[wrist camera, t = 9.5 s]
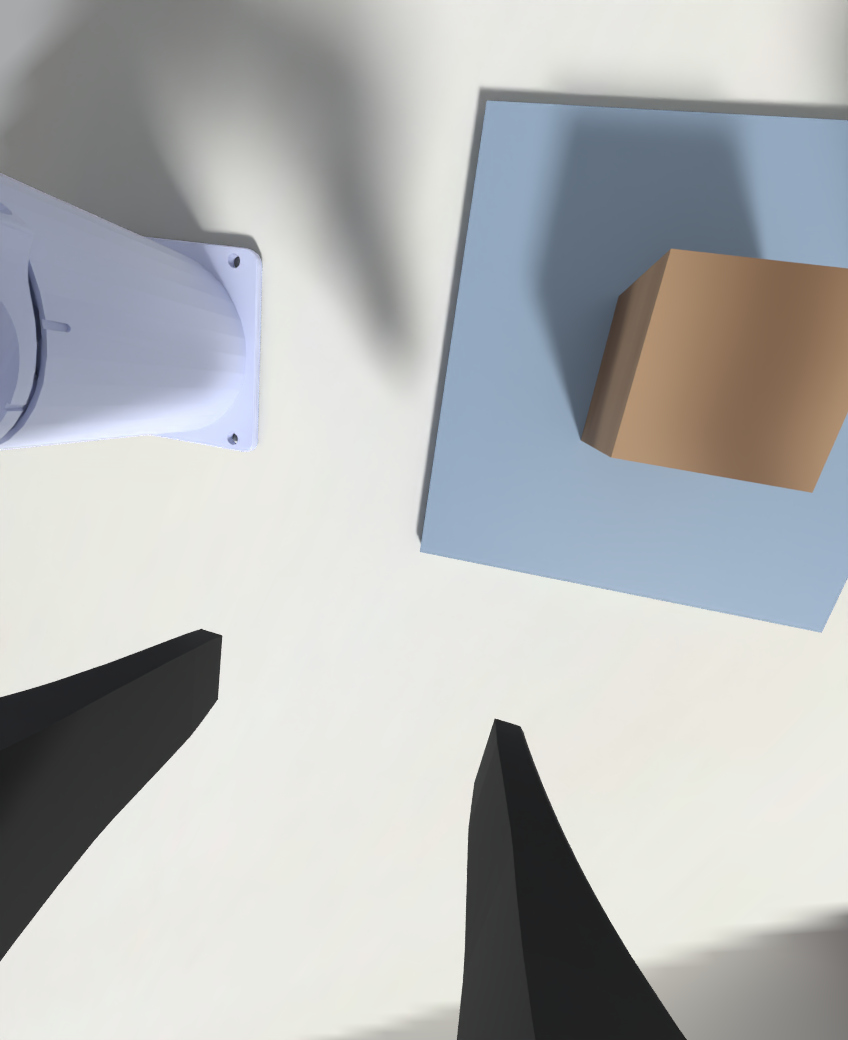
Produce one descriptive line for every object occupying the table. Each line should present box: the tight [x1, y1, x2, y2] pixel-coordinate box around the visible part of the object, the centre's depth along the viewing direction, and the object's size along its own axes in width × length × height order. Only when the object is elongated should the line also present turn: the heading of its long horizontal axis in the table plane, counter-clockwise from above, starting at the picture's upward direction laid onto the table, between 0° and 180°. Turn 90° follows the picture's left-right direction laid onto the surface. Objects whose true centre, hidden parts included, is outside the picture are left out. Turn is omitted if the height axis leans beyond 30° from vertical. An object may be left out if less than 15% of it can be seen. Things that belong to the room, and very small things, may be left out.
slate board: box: [420, 101, 848, 633], centre depth 16 cm, size 16×16×1 cm
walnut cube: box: [581, 249, 848, 493], centre depth 13 cm, size 5×5×5 cm
